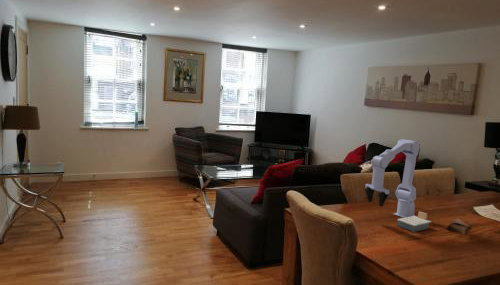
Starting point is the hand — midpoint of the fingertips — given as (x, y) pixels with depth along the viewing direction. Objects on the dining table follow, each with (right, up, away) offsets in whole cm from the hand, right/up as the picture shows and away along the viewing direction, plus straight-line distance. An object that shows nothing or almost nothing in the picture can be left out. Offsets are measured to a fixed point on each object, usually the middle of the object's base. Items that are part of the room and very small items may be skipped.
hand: (375, 204), depth 191 cm
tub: (+18, -12, -4) cm, 22 cm away
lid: (+19, -10, -4) cm, 21 cm away
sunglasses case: (+44, -13, 0) cm, 46 cm away
